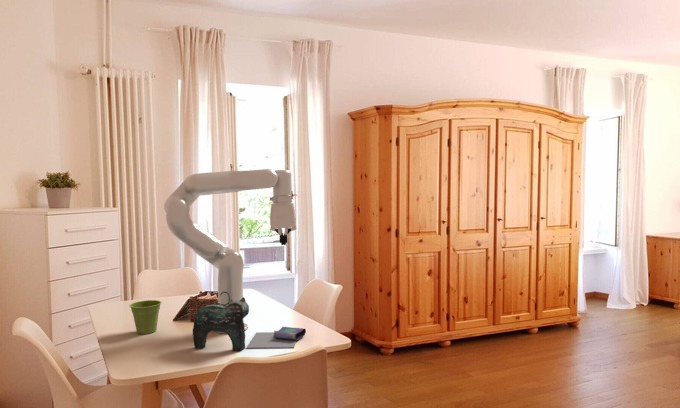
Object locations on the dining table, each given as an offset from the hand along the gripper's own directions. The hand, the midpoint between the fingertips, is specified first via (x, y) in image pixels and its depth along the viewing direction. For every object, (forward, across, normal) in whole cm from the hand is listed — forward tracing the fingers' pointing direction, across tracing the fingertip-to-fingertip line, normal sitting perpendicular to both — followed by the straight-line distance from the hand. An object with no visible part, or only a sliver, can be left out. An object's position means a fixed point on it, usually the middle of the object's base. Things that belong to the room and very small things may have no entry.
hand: (283, 244), depth 206 cm
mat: (+32, -1, -25) cm, 41 cm away
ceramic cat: (+32, -18, -34) cm, 50 cm away
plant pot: (+32, -53, -12) cm, 63 cm away
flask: (+30, +9, -24) cm, 40 cm away
